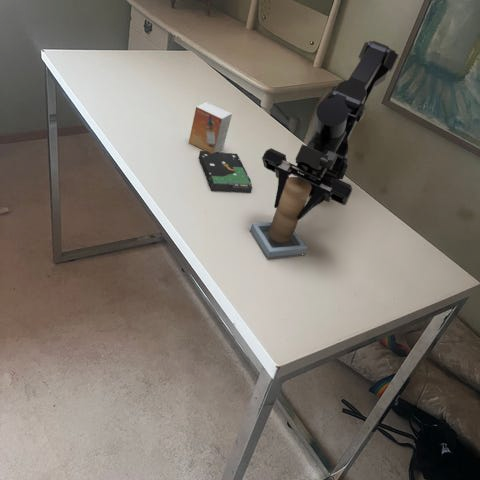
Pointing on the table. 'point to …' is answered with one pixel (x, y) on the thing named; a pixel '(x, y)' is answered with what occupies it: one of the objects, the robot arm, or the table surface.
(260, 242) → the collar
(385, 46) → the robot arm
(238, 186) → the disk drive
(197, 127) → the small box
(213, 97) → the table surface
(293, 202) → the walnut pin
